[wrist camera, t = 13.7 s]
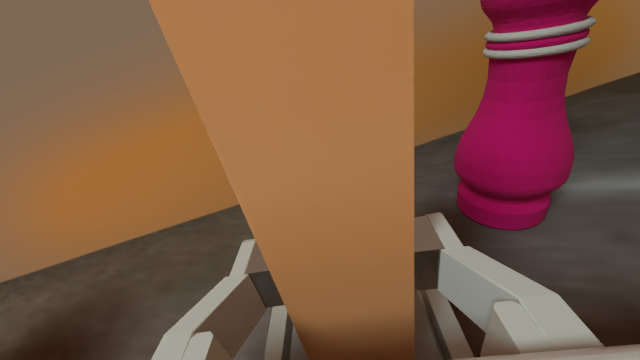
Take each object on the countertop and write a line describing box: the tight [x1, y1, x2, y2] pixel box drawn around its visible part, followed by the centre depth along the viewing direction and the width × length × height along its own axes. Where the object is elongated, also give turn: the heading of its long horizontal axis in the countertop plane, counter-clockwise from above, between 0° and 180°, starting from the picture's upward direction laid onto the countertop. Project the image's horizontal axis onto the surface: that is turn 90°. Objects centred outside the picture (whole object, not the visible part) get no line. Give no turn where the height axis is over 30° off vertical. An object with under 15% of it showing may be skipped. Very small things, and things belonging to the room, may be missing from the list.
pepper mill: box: [454, 0, 598, 230], centre depth 17 cm, size 7×7×20 cm
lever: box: [149, 0, 442, 360], centre depth 8 cm, size 4×6×15 cm, turn 89°
